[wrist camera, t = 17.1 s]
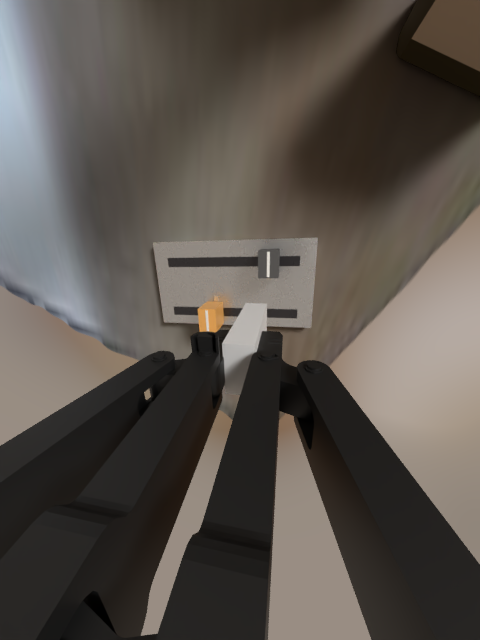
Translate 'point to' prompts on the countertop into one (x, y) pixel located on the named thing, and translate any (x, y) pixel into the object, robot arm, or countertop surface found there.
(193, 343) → the robot arm
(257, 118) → the countertop surface
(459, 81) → the bottle
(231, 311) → the panel
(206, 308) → the orange fader
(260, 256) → the black fader
